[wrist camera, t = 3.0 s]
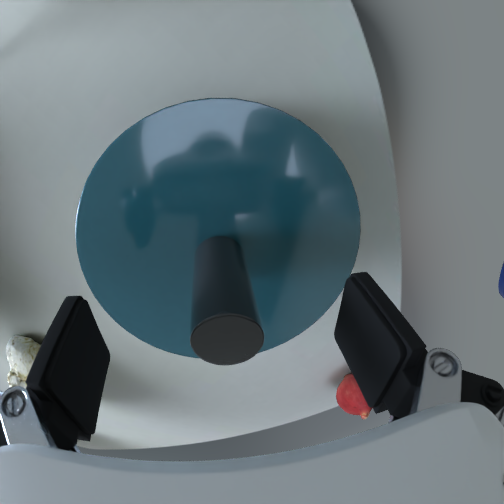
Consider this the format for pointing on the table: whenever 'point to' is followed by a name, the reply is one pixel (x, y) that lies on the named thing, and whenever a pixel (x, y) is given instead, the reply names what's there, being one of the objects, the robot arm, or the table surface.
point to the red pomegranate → (352, 397)
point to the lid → (217, 229)
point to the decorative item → (20, 359)
